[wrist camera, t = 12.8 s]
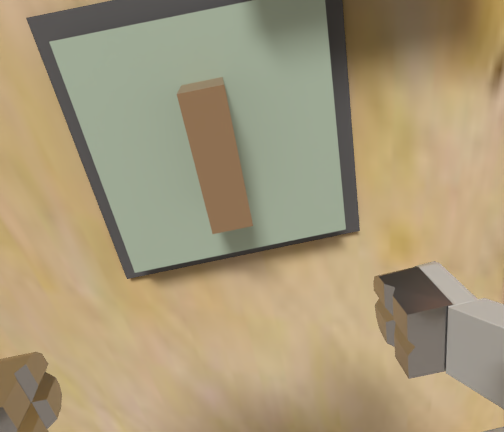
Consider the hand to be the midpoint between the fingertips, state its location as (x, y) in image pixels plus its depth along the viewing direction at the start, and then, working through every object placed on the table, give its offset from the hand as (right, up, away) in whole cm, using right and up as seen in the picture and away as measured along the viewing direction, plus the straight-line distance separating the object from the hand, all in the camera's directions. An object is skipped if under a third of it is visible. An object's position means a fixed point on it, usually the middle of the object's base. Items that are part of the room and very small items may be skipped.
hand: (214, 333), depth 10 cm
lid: (-1, +8, +17) cm, 19 cm away
